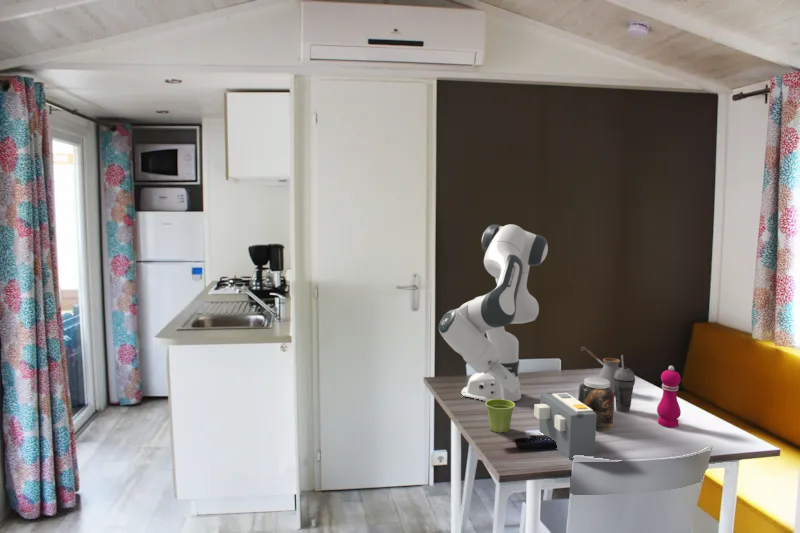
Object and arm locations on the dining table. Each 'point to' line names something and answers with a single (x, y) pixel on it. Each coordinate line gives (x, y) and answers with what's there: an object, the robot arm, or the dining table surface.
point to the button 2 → (560, 422)
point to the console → (570, 424)
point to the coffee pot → (607, 368)
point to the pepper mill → (669, 399)
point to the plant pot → (500, 414)
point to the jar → (598, 400)
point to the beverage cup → (624, 388)
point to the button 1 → (542, 411)
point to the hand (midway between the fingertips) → (515, 389)
